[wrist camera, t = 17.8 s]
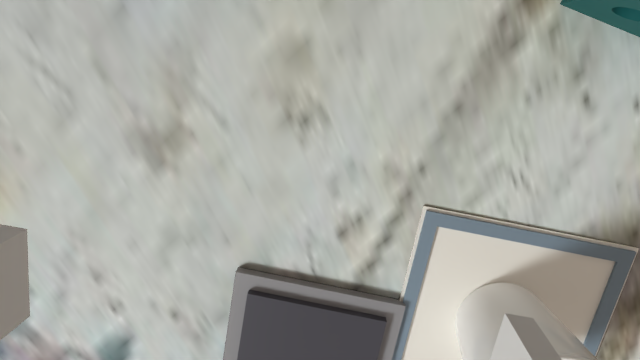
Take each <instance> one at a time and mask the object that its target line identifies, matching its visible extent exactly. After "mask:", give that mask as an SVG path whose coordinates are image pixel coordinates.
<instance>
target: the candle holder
mask: <svg viewBox="0 0 640 360" xmlns="http://www.w3.org/2000/svg"><path fill="white" fill-rule="evenodd" d="M505 313H507V314H513V315H518V316H524V317H530V318H534V320H535V321H536V323H537V324H538V326H539V327H540V329H541V330H542V332H543V333H544V334H545V336H546V337H547V339H548V340H549V342H550V343H551V345H552V346H553V348H554V349H555V351H556V352H557V354H558V355H559V356H560V358H561V359H562V360H598V359H597V358H596V357H595V356H594V355H593V354H592V353H591V352H590V351H589V350H588V349H587V348H586V347H585V345H584V344H583V343H582V342H581V341H580V340H579V339H578V338H577V337H576V336H575V335H574V334H573V333H572V332H571V331H570V330H569V329H568V328H567V326H566V325H565V324H564V323H563V322H562V321H561V320H560V319H559V318H558V317H557V316H556V315H555V314H554V313H553V312H552V311H551V310H550V309H549V308H548V307H547V305H546V304H545V303H544V302H543V301H542V300H541V299H540V298H539V297H537V296H536V295H535V294H534V293H533V292H531V291H530V290H528V289H527V288H525V287H523V286H520V285H517V284H513V283H505V282H500V283H492V284H488V285H485V286H482V287H480V288H478V289H476V290H475V291H473V292H472V293H470V294H469V295H468V296H467V297H466V298H465V299H464V300H463V302H462V303H461V305H460V306H459V308H458V311H457V313H456V317H455V332H456V337H457V341H458V345H459V349H460V352H461V356H462V360H490V358H491V355H492V352H493V349H494V346H495V342H496V339H497V336H498V333H499V330H500V327H501V324H502V321H503V317H504V314H505Z"/></svg>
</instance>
